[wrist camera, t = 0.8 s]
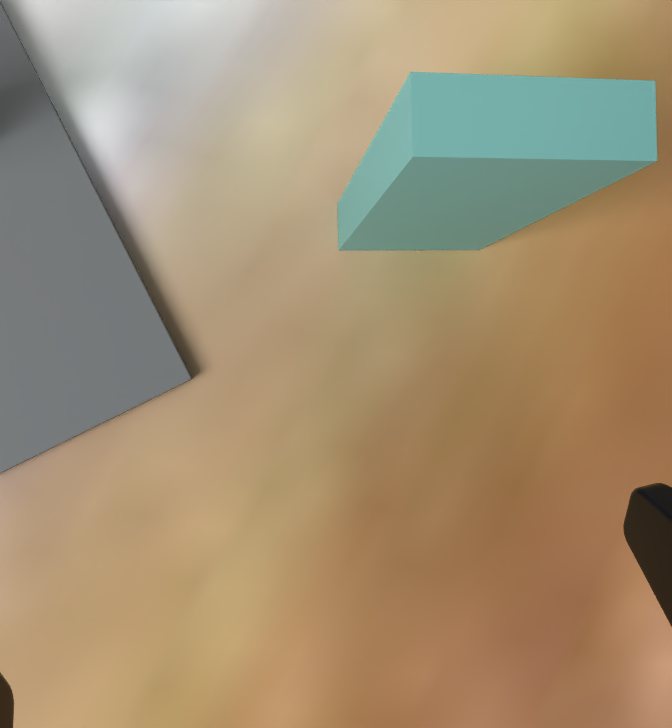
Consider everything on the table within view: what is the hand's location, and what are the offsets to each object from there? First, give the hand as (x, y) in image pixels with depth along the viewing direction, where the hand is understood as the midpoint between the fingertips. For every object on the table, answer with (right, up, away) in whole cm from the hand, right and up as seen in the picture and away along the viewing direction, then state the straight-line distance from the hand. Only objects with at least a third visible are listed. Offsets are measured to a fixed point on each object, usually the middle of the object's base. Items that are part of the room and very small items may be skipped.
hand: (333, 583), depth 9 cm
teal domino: (+3, +8, +14) cm, 16 cm away
